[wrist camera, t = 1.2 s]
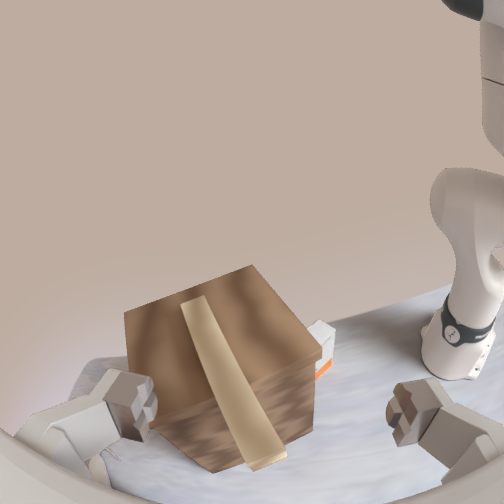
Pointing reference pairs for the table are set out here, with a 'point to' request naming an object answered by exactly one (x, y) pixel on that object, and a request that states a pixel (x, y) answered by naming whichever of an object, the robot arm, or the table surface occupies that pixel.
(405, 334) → the table surface
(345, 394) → the table surface
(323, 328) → the skincare box
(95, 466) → the woman figurine
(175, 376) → the stand
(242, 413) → the rod
